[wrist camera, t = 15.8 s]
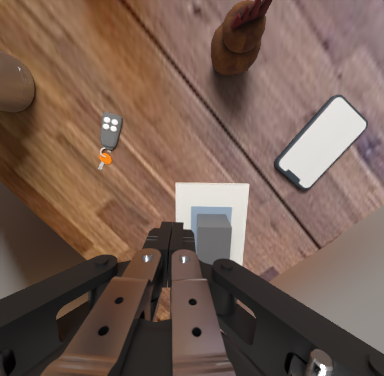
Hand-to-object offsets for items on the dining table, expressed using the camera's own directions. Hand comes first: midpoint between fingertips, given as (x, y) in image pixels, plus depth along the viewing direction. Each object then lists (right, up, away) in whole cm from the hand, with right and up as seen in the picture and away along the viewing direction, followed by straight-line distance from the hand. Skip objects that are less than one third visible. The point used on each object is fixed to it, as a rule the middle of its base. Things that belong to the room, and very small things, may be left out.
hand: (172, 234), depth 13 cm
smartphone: (+25, +11, +22) cm, 35 cm away
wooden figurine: (+8, +25, +19) cm, 32 cm away
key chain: (-15, +11, +23) cm, 29 cm away
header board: (+5, -6, +26) cm, 27 cm away
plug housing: (+5, -6, +25) cm, 26 cm away
